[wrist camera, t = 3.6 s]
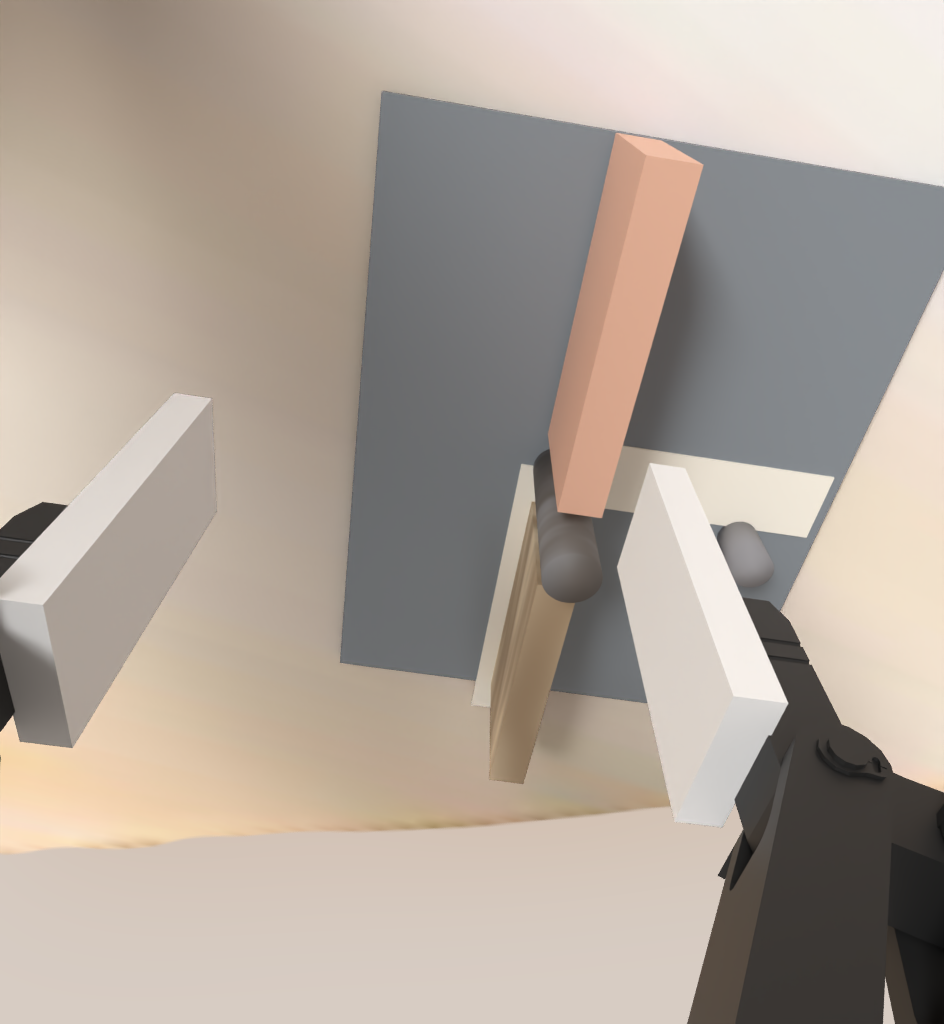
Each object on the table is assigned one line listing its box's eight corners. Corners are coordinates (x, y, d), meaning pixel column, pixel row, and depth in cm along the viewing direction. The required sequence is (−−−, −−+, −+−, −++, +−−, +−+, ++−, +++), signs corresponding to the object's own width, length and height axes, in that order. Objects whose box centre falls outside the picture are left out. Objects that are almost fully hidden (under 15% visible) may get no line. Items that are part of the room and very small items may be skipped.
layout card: (340, 679, 46) (328, 724, 43) (383, 90, 29) (370, 96, 26) (717, 728, 47) (732, 775, 44) (971, 191, 30) (1024, 207, 27)
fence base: (485, 681, 45) (483, 812, 37) (537, 444, 36) (548, 550, 29) (525, 687, 45) (530, 818, 37) (586, 451, 36) (609, 558, 29)
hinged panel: (547, 434, 35) (557, 511, 30) (615, 132, 29) (646, 155, 23) (584, 439, 36) (601, 518, 30) (661, 140, 29) (703, 165, 23)
